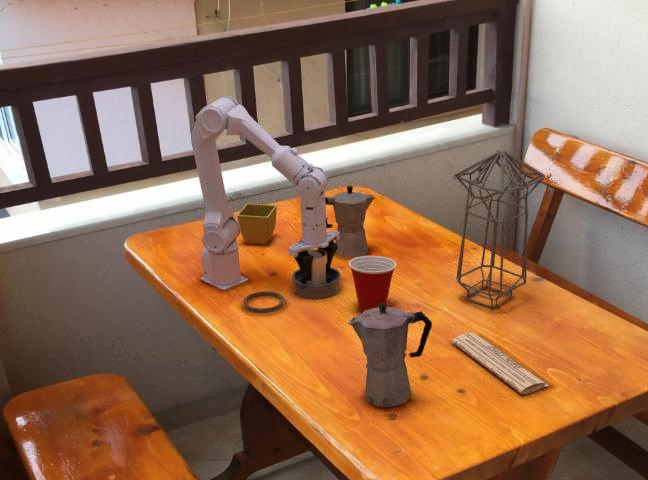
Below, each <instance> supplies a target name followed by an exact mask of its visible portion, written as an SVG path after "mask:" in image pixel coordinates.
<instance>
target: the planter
mask: <svg viewBox="0 0 648 480" xmlns="http://www.w3.org/2000/svg"><path fill="white" fill-rule="evenodd" d="M341 277H342V275H341V272H340V271H339V270H338V269H337V268H335V267H333V266H330V270H329V273H326V284H321V285H308V284H307V283H306V280H305V279H303V276H302V273H301V270H300V268H298V269H296V270H294V271H293V273H292V274H291V288H292V293H294V295H295V296H298V297H299V298H301V299H306V300H324V299H328V298H331V297H334V296H336V295H337V294H339V293H340V291H341V289H342V280H341V279H342V278H341Z"/></svg>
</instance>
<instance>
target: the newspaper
mask: <svg viewBox="0 0 648 480" xmlns="http://www.w3.org/2000/svg"><path fill="white" fill-rule="evenodd" d="M451 343H453V345H455V346H457V348H459V349H460V350H462V352H465V353H466V354H467V355H469V356H470V357H471V358H473V359H474V360H475V361H476V362H478V363H479V364H481V365H482V366H483V367H484V368H486V369H487V370H489V371H490V372H491V373H492V374H494V375H495V376H497V377H498V378H499V379H501V381H503V382H505V383H506V384H508V385H509V386H510V387H511V388H513V389H514V390H516V391H517V392H518V393H520V395H528V394H532V393H535V392H536V391H539V390H541V389H544V388H546V387H550V385H549V384H547V383H546V382H545V381H543V380H541V378H539V377H538V376H536V375H535V374H533V373H532V372H530V370H528V369H526V368H525V367H524V366H522V365H521V364H519V363H518V362H516V361H515V360H513V359H512V358H511V357H509V356H508V355H506V354H505V353H504V352H502V351H501V350H500V349H498V348H496V347H495V346H494V345H492V344H491V343H490V342H489V341H487V340H485V339H484V338H483V337H481V336H479V335H478V334H477V333H475V332H466V333H463V334H460V335H458V336H456V337H454V338H452V339H451Z"/></svg>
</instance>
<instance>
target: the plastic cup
mask: <svg viewBox="0 0 648 480" xmlns="http://www.w3.org/2000/svg"><path fill="white" fill-rule="evenodd" d="M348 266H349V268H350V270H351V274H352V278H353V283H354V290H355V295H356V298H357V302H358V308H359V310H360V312H361V313H363V312H364V311H365V310H369V309H374V308H377V307H378V305H379V304H381V303H385V304H386V305H387V302H388V298H389V295H390V294H389V292H390V287H391V282H392V277H393V275H394V271H395V269H396V267H397V262H396V261H395V260H394V259H392V258H390V257H386V256H381V255H365V256H361V257H355V258H354V257H353V258H351V259H349V261H348Z"/></svg>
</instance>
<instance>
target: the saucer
mask: <svg viewBox="0 0 648 480" xmlns="http://www.w3.org/2000/svg"><path fill="white" fill-rule="evenodd" d="M258 297H273V298H277V299H278V300H280V302H279V303H278V304H276V305H273V306H270V307H254V306H250V305H249V304H248V302H249V301H250V300H252V299H255V298H258ZM242 302H243V304H242V305H243V308H244V309H245V310H246V311H248V312H250V313H254V314H270V313H274V312H276V311H279V310H280V309H282V308H283V307H284V305H285V298H284V296H283V294H281V293H279V292H275V291H271V290H263V291H261V290H260V291H256V292H252V293H250V294H248V295H246V296H245V297H244V298H243V300H242Z"/></svg>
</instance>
